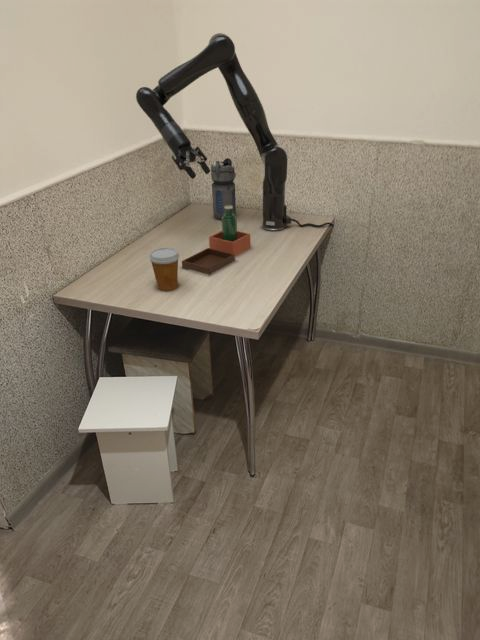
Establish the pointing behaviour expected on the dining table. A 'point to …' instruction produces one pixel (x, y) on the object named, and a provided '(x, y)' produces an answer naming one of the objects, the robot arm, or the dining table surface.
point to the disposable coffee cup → (165, 267)
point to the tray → (208, 261)
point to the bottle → (229, 225)
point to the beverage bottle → (223, 187)
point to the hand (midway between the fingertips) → (201, 175)
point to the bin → (230, 243)
